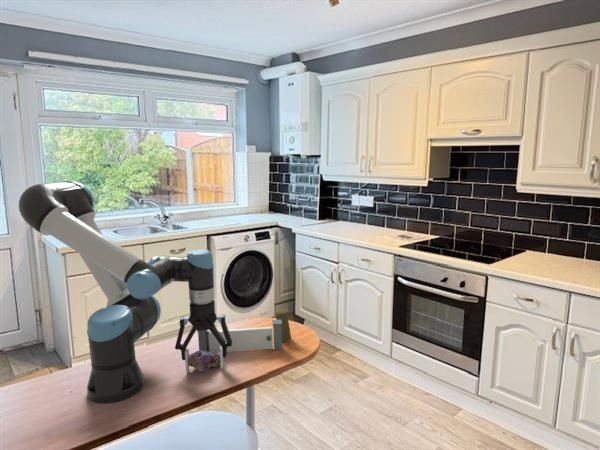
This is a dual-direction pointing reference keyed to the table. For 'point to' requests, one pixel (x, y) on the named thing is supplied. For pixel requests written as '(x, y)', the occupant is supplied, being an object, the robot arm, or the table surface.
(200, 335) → the hinge post
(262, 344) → the gate
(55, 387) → the table surface
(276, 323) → the post
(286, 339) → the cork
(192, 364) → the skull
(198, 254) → the robot arm
